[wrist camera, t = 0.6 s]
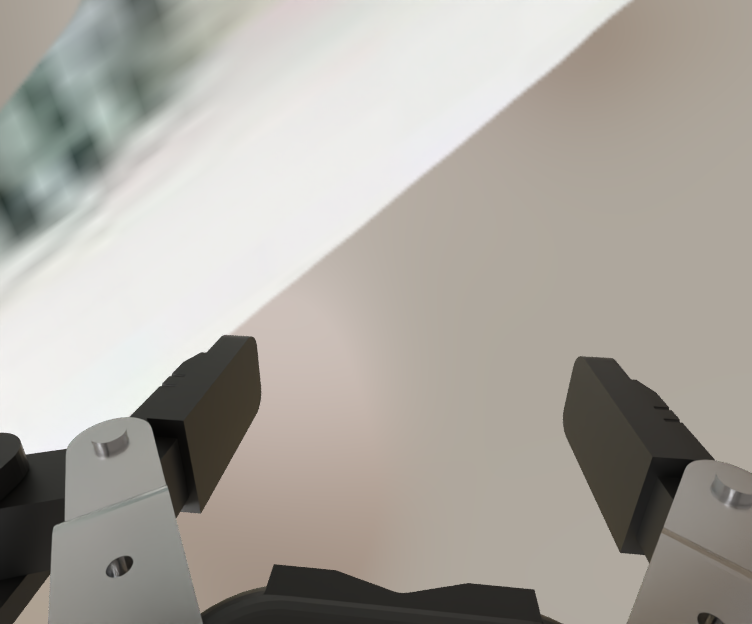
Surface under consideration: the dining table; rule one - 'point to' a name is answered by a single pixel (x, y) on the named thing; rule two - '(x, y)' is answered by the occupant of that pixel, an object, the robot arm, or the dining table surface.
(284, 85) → the dining table surface
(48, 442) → the dining table surface
